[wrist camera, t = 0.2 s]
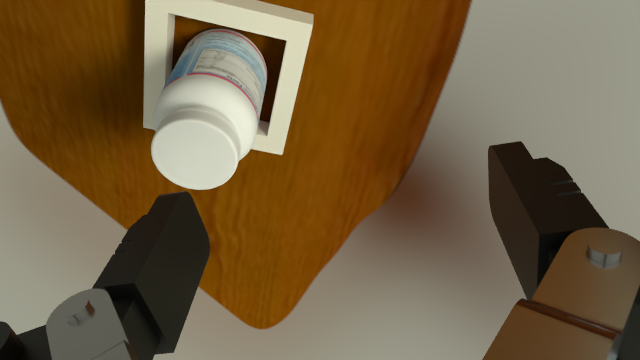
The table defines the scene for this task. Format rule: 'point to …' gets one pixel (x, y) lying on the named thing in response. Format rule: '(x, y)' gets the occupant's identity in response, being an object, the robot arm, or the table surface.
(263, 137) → the holder
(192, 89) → the pill bottle
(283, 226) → the table surface
